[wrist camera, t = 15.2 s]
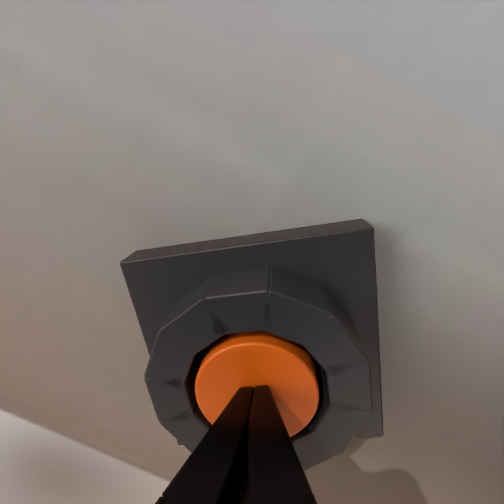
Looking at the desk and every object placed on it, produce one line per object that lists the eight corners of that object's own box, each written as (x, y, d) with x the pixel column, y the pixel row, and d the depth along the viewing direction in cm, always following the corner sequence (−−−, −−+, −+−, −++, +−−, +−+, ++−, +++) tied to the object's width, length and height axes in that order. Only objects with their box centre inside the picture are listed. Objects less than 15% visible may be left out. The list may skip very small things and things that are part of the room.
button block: (374, 409, 12) (403, 488, 9) (186, 420, 13) (161, 494, 10) (363, 217, 10) (398, 245, 7) (135, 250, 11) (84, 285, 8)
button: (317, 395, 10) (325, 441, 9) (219, 402, 11) (208, 447, 9) (306, 305, 9) (312, 337, 8) (197, 316, 10) (181, 350, 8)
